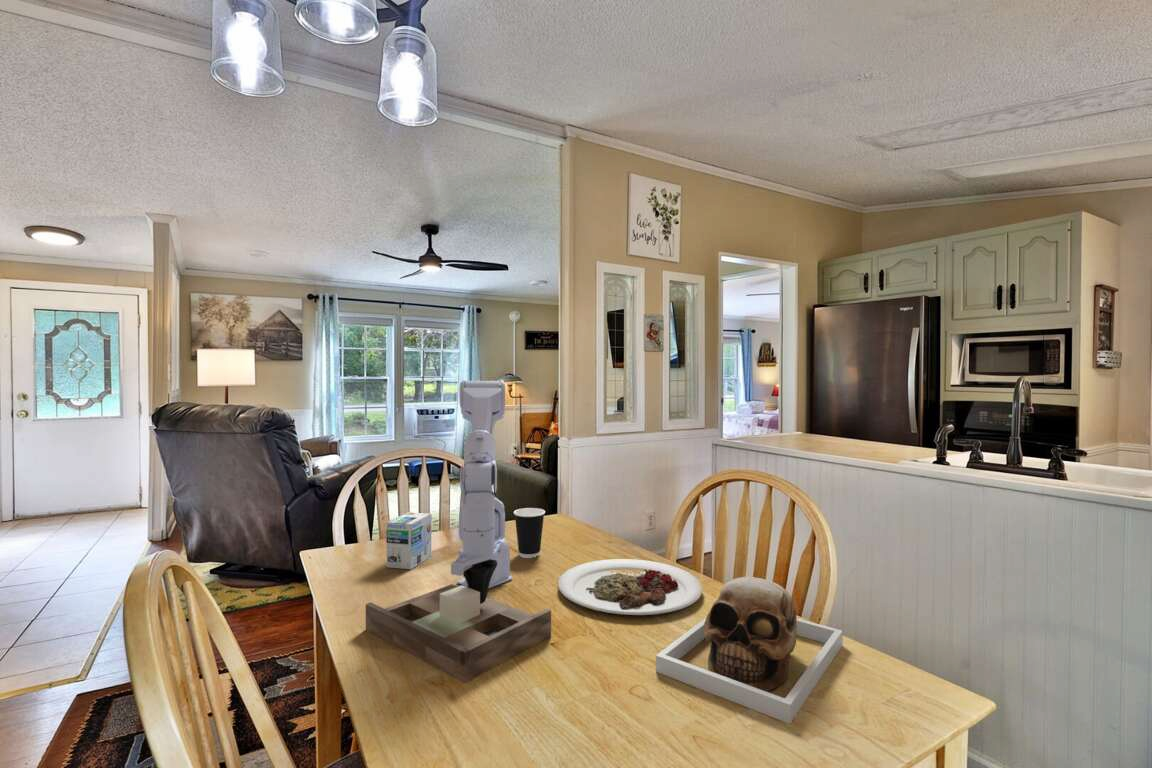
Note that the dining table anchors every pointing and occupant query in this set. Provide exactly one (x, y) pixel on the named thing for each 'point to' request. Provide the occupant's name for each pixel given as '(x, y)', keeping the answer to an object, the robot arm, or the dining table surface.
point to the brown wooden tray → (458, 633)
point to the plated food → (630, 587)
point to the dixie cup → (529, 531)
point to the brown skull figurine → (752, 632)
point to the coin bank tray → (744, 693)
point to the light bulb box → (408, 540)
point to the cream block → (459, 604)
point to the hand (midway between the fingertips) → (478, 601)
